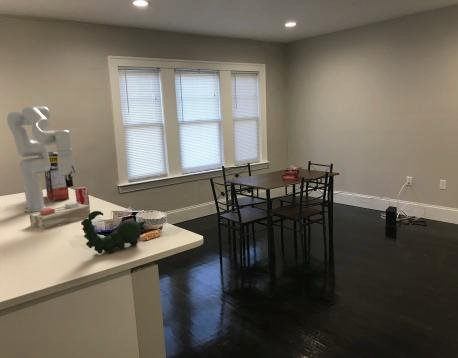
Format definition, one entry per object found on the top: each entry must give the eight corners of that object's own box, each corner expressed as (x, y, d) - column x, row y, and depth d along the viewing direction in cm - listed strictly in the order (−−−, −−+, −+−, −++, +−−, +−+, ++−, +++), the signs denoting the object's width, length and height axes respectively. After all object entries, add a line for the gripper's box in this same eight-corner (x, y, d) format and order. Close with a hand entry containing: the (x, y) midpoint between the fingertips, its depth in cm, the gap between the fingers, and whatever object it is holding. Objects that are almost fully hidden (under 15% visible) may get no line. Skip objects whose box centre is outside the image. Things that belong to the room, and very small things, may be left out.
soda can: (85, 209, 220) (83, 188, 218) (75, 209, 221) (72, 188, 219) (92, 206, 227) (89, 186, 224) (81, 206, 228) (79, 186, 226)
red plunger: (40, 217, 192) (39, 210, 191) (50, 215, 196) (49, 207, 195) (46, 218, 189) (44, 211, 189) (55, 216, 193) (54, 208, 193)
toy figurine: (94, 264, 141) (153, 242, 155) (83, 217, 136) (145, 199, 150) (87, 257, 148) (144, 237, 162) (76, 213, 144) (136, 196, 158)
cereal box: (70, 199, 252) (65, 152, 247) (52, 201, 246) (46, 154, 241) (62, 193, 274) (58, 151, 269) (46, 196, 268) (41, 152, 263)
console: (31, 225, 193) (29, 214, 192) (76, 213, 213) (74, 203, 212) (45, 229, 185) (43, 217, 184) (90, 215, 205) (89, 205, 204)
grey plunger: (65, 210, 203) (64, 203, 203) (74, 208, 207) (73, 201, 207) (71, 211, 200) (70, 204, 200) (79, 209, 204) (78, 202, 204)
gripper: (50, 154, 199) (55, 187, 203) (66, 154, 191) (71, 189, 194) (63, 152, 205) (68, 184, 209) (79, 152, 197) (83, 186, 200)
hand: (69, 186), depth 201 cm, fingers closed
